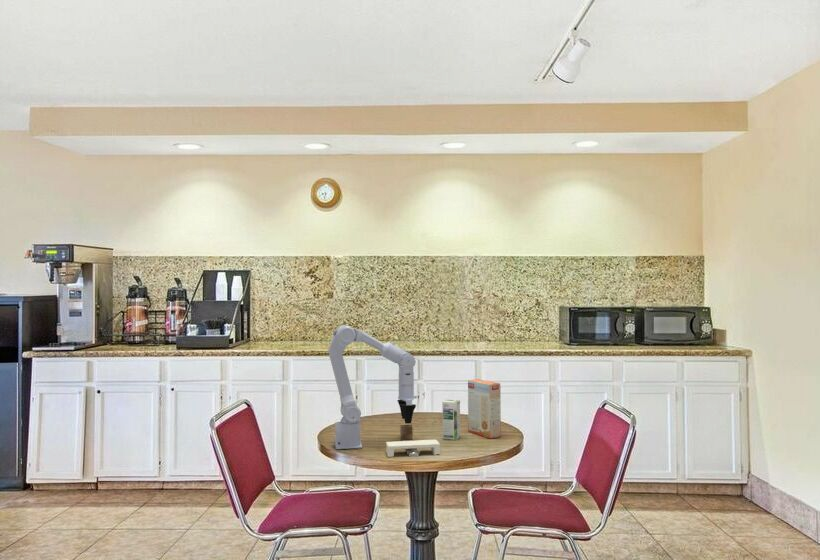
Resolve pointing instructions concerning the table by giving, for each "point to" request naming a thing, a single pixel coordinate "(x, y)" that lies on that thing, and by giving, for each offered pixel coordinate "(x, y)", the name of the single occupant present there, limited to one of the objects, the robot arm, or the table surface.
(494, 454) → the table surface
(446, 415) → the syrup box
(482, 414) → the cracker box
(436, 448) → the shelf
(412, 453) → the steel disc
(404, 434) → the brown wooden mallet
